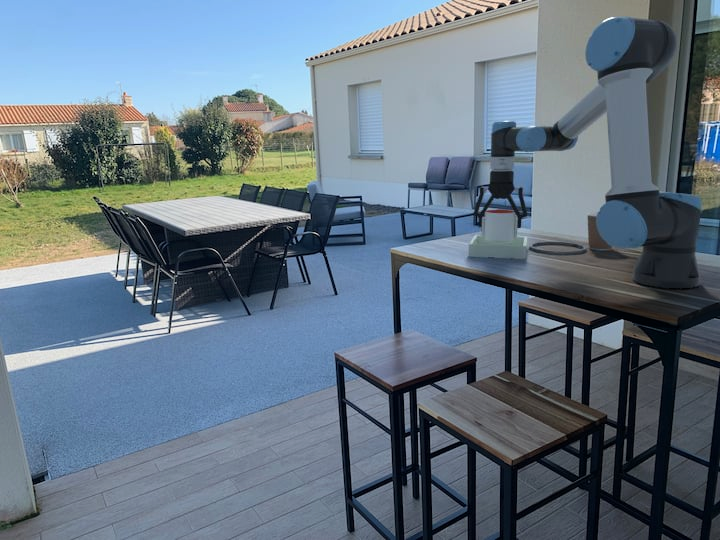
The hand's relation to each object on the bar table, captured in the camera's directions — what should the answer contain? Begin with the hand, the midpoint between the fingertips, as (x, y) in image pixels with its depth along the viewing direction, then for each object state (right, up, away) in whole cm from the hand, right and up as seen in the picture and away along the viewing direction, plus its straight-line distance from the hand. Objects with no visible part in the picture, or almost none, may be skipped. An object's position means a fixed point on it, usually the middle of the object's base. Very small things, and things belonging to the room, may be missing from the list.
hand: (499, 237), depth 173 cm
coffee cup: (+36, -4, +4) cm, 36 cm away
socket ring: (+21, -4, +4) cm, 22 cm away
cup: (0, -1, 0) cm, 2 cm away
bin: (0, -5, +1) cm, 5 cm away
